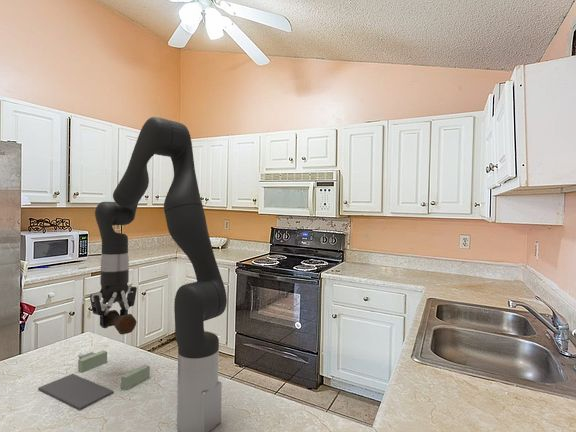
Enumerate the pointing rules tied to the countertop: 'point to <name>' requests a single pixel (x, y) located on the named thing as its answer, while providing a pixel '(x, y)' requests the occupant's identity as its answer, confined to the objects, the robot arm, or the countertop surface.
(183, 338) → the robot arm
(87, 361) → the rails
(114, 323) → the bolt
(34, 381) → the countertop surface
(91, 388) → the mat
